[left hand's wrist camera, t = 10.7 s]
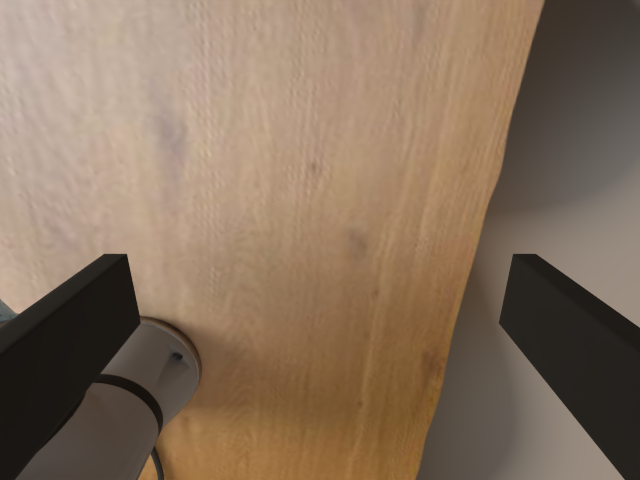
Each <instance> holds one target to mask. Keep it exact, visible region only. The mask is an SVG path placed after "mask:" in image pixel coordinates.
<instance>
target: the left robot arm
mask: <svg viewBox="0 0 640 480" xmlns="http://www.w3.org/2000/svg"><path fill="white" fill-rule="evenodd" d="M499 324H500V325H501V326H502V328H503V329H504V330H505V331H506V333H507V334H508V335H509V336H510V337H511V339H512V340H513V341H514V342H515V344H516V345H517V346H518V347H519V349H520V350H521V351H522V352H523V354H524V355H525V356H526V357H527V359H528V360H529V361H530V362H531V364H532V365H533V366H534V367H535V369H536V370H537V371H538V372H539V374H540V375H541V376H542V377H543V379H544V380H545V381H546V382H547V383H548V385H549V386H550V387H551V388H552V390H553V391H554V392H555V393H556V395H557V396H558V397H559V398H560V400H561V401H562V402H563V403H564V405H565V406H566V407H567V408H568V410H569V411H570V412H571V413H572V415H573V416H574V417H575V418H576V420H577V421H578V422H579V423H580V425H581V426H582V427H583V428H584V429H585V431H586V432H587V433H588V434H589V436H590V437H591V438H592V439H593V441H594V442H595V443H596V444H597V446H598V447H599V448H600V449H601V451H602V452H603V453H604V454H605V456H606V457H607V458H608V459H609V460H610V462H611V463H612V464H613V466H614V467H615V468H616V469H617V470H618V472H619V473H620V474H621V475H622V477H623V478H624V479H625V480H640V328H639V327H638V326H636V325H635V324H634V323H632V322H631V321H629V320H628V319H627V318H625V317H624V316H622V315H621V314H620V313H618V312H617V311H615V310H614V309H612V308H611V307H610V306H608V305H607V304H606V303H604V302H603V301H601V300H600V299H598V298H597V297H596V296H594V295H593V294H591V293H590V292H589V291H587V290H586V289H584V288H583V287H582V286H580V285H579V284H577V283H576V282H575V281H573V280H572V279H570V278H569V277H567V276H566V275H565V274H563V273H562V272H560V271H559V270H558V269H556V268H555V267H553V266H552V265H551V264H549V263H548V262H546V261H545V260H544V259H542V258H541V257H539V256H538V255H537V254H513V257H512V262H511V267H510V272H509V277H508V282H507V286H506V291H505V296H504V301H503V306H502V311H501V315H500V320H499ZM200 378H201V361H200V358H199V355H198V353H197V351H196V349H195V347H194V346H193V344H192V343H191V342H190V341H189V340H188V338H187V337H186V336H184V335H183V334H182V333H181V332H180V331H178V330H177V329H175V328H174V327H172V326H170V325H168V324H166V323H164V322H162V321H159V320H155V319H152V318H147V317H140V315H139V311H138V306H137V301H136V296H135V291H134V286H133V282H132V277H131V272H130V267H129V262H128V257H127V254H103V255H102V256H101V257H99V258H98V259H96V260H95V261H94V262H92V263H91V264H89V265H88V266H87V267H85V268H84V269H82V270H81V271H80V272H78V273H77V274H75V275H74V276H72V277H71V278H70V279H68V280H67V281H65V282H64V283H63V284H61V285H60V286H58V287H57V288H56V289H54V290H53V291H51V292H50V293H49V294H47V295H46V296H44V297H43V298H42V299H40V300H39V301H37V302H36V303H34V304H33V305H32V306H30V307H29V308H27V309H26V310H25V311H23V312H22V313H20V314H17V313H15V312H14V311H13V310H12V309H11V308H9V307H8V306H7V305H6V304H5V303H4V302H3V301H2V300H1V299H0V480H138V478H139V476H140V474H141V472H142V470H143V468H144V466H145V464H146V462H147V460H148V457H149V455H150V454H151V456H152V458H153V461H154V464H155V466H156V470H157V474H158V480H164V474H163V469H162V466H161V463H160V460H159V457H158V455H157V452H156V450H155V447H154V445H155V443H156V440H157V438H158V436H159V434H160V432H161V430H162V428H163V427H164V426H165V425H166V424H167V423H168V422H169V421H170V420H171V419H172V418H173V417H174V416H175V415H176V414H177V413H178V412H179V411H180V410H181V409H182V408H183V407H184V406H185V405H186V404H187V403H188V402H189V400H190V399H191V397H192V396H193V394H194V393H195V391H196V388H197V386H198V384H199V381H200Z"/></svg>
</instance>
